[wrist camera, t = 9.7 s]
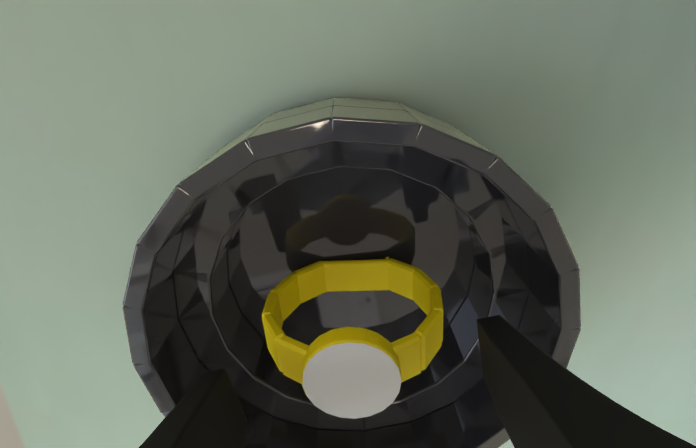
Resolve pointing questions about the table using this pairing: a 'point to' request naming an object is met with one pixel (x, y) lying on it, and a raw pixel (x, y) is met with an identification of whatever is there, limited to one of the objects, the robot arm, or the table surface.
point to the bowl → (348, 244)
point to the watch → (353, 336)
